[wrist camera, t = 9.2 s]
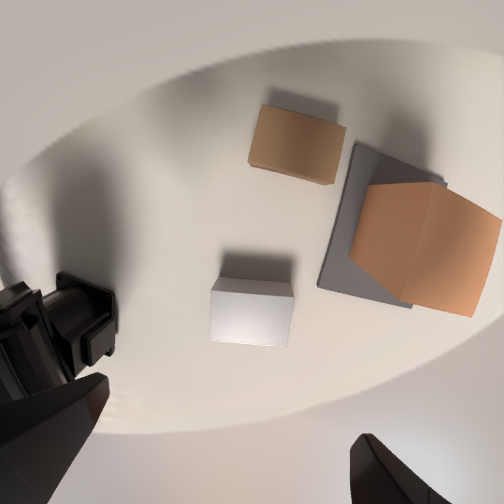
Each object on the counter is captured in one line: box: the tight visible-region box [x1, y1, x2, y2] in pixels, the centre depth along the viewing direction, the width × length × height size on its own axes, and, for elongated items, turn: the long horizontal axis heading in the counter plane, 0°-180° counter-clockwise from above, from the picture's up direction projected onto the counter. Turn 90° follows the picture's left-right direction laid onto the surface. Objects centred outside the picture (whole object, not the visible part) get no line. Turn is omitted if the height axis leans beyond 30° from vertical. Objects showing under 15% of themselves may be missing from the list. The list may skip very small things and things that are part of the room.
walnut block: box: [248, 105, 346, 185], centre depth 16 cm, size 5×4×3 cm
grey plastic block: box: [210, 277, 294, 347], centre depth 18 cm, size 5×4×3 cm
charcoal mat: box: [317, 144, 448, 309], centre depth 17 cm, size 8×10×1 cm
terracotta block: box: [349, 182, 502, 318], centre depth 13 cm, size 5×5×8 cm
